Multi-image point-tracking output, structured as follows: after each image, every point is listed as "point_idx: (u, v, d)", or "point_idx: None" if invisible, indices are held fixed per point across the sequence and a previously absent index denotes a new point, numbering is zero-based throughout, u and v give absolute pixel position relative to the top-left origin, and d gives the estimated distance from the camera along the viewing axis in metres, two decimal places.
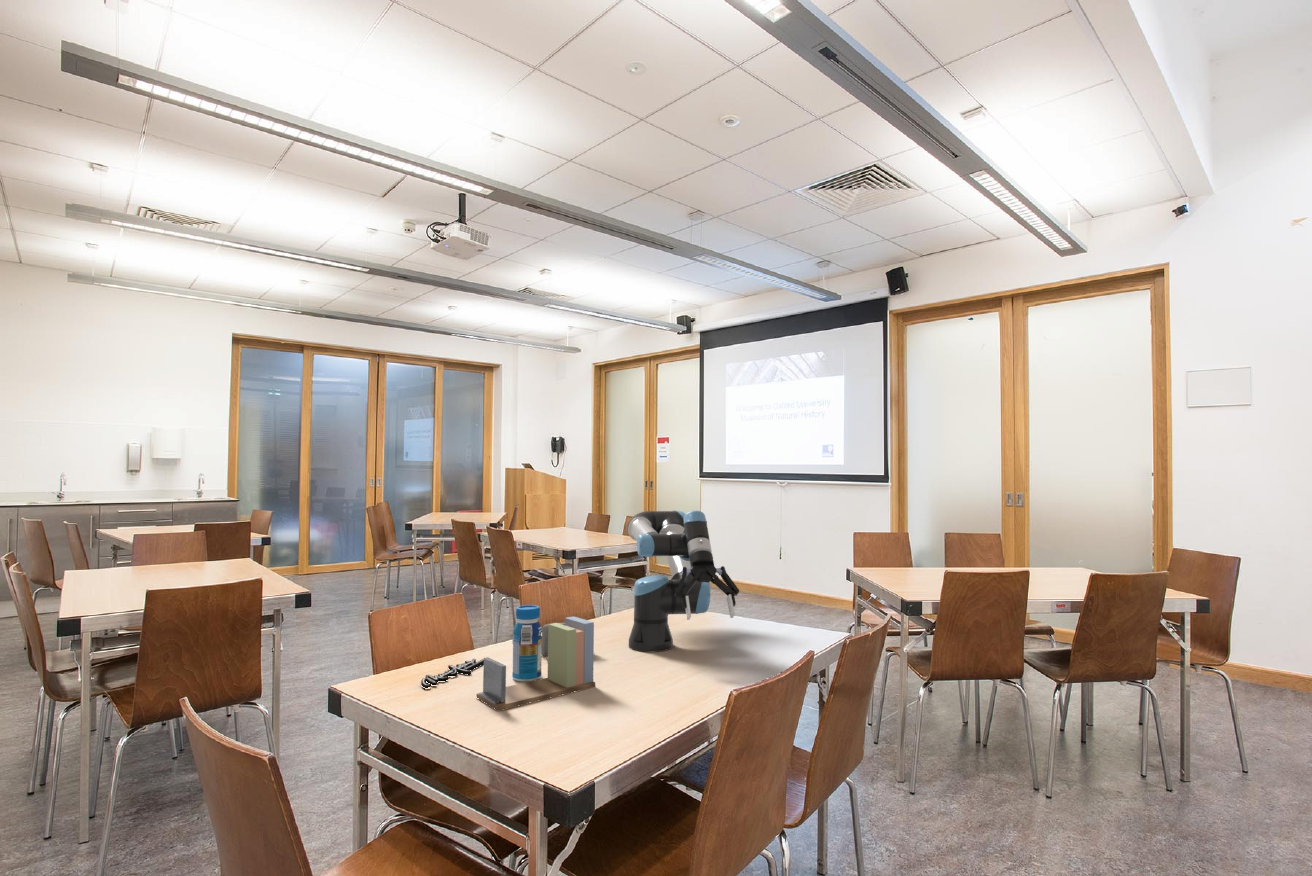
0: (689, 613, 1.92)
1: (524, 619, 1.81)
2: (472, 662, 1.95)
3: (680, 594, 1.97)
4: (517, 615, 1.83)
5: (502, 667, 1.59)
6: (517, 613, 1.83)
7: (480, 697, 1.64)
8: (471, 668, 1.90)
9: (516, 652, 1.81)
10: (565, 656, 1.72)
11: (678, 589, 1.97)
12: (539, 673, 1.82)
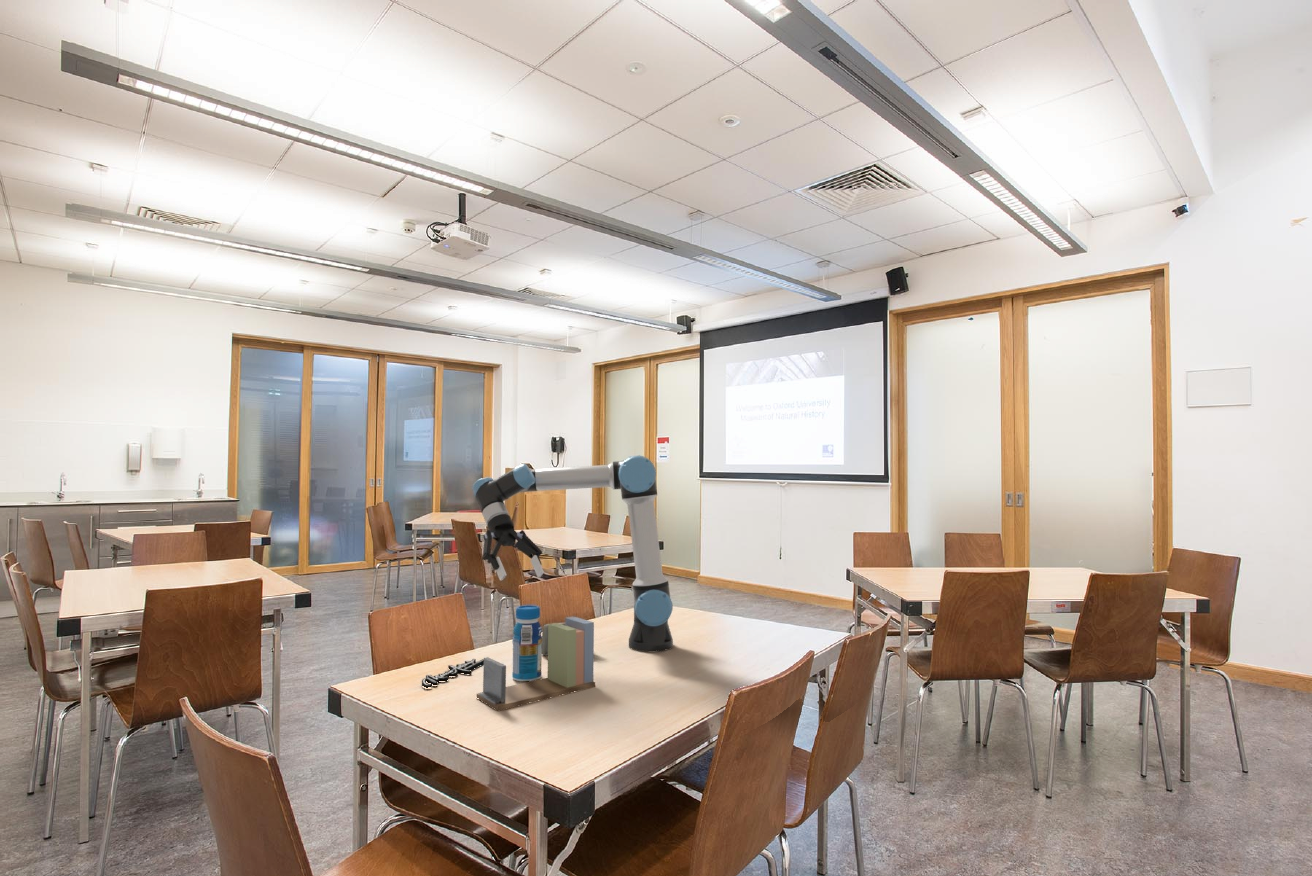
0: None
1: (524, 619, 1.81)
2: (472, 662, 1.95)
3: None
4: (517, 615, 1.83)
5: (502, 667, 1.59)
6: (517, 613, 1.83)
7: (480, 697, 1.64)
8: (471, 668, 1.90)
9: (516, 652, 1.81)
10: (565, 656, 1.72)
11: None
12: (539, 673, 1.82)
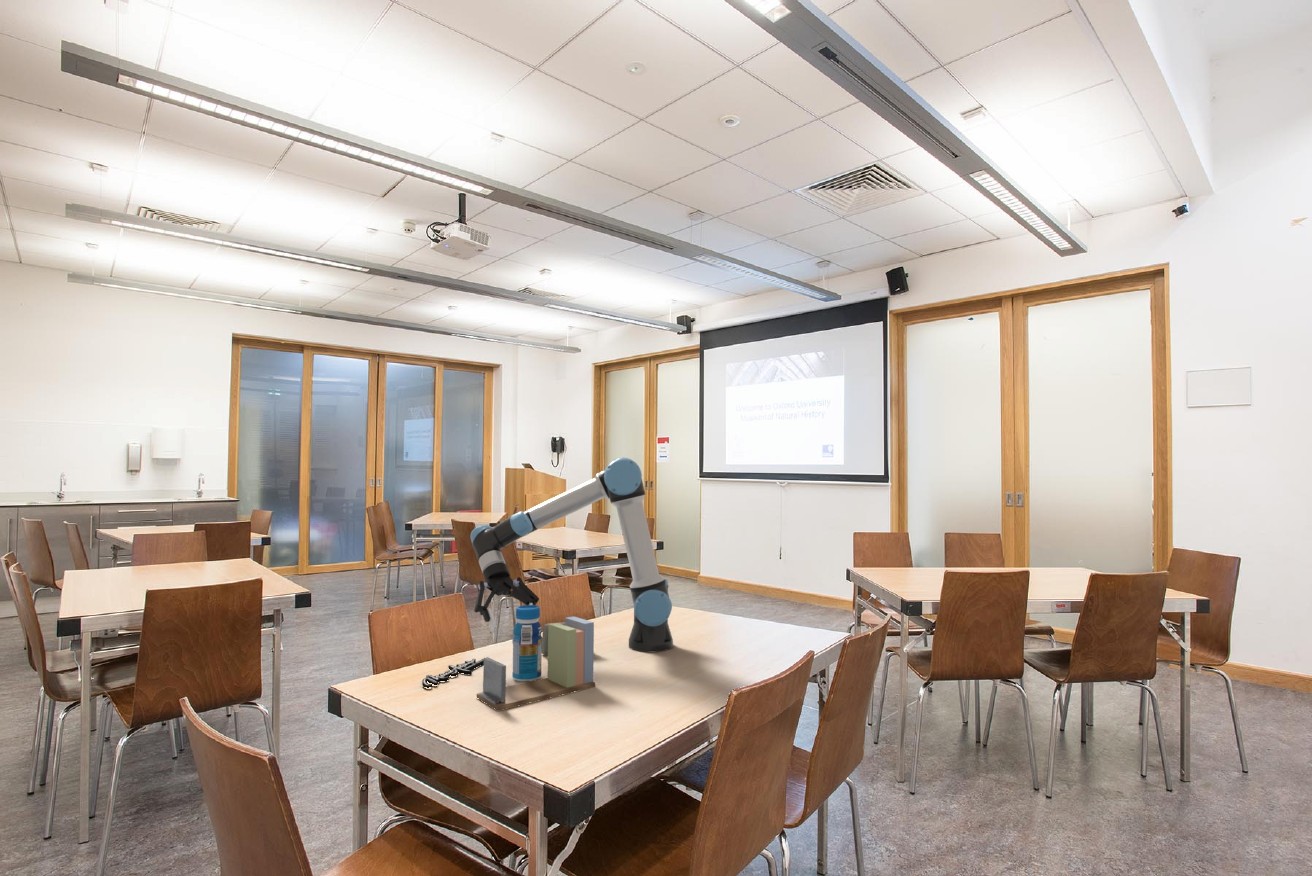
0: None
1: (524, 619, 1.81)
2: (472, 662, 1.95)
3: None
4: (517, 615, 1.83)
5: (502, 667, 1.59)
6: (517, 613, 1.83)
7: (480, 697, 1.64)
8: (471, 668, 1.90)
9: (516, 652, 1.81)
10: (565, 656, 1.72)
11: None
12: (539, 673, 1.82)
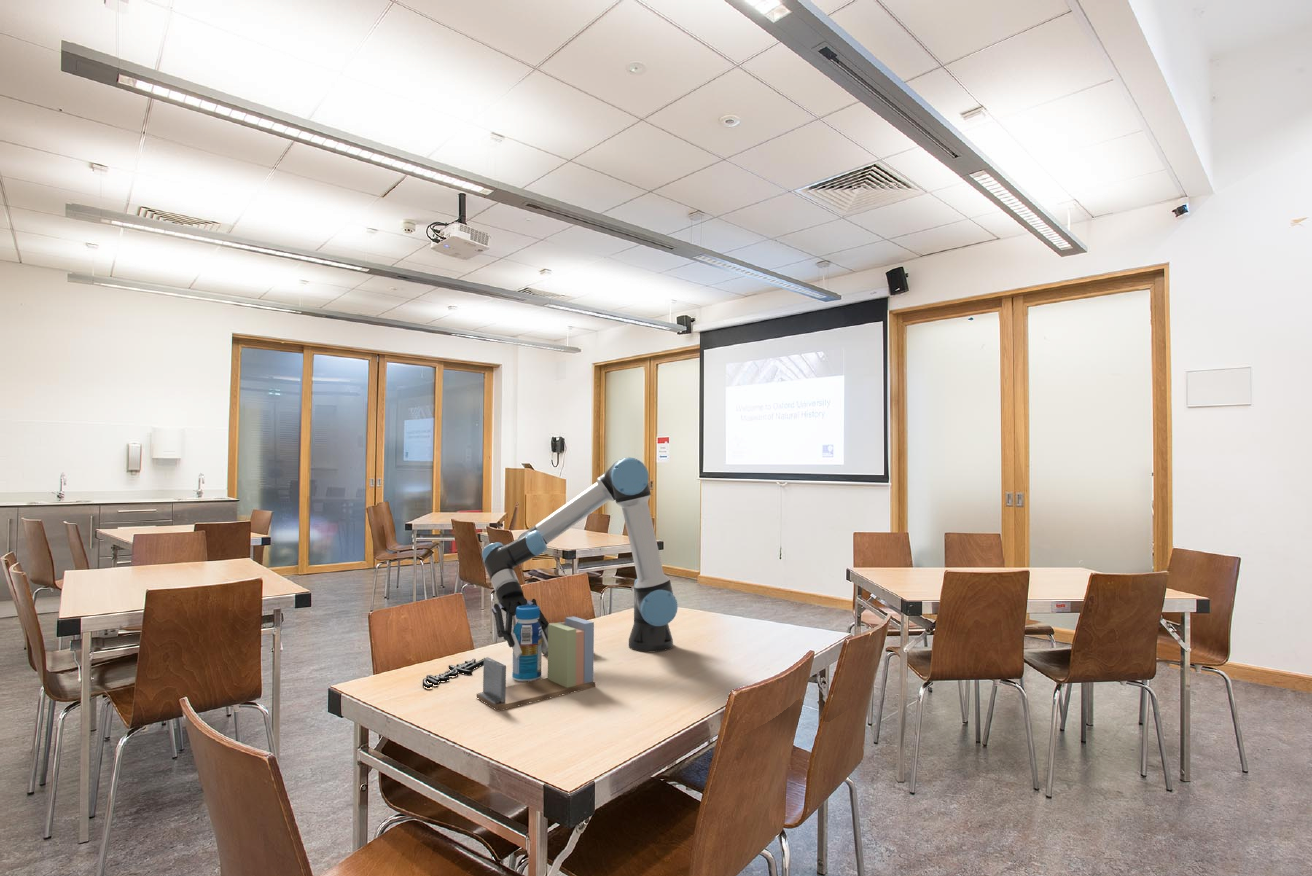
0: None
1: (524, 619, 1.81)
2: (472, 662, 1.95)
3: None
4: (517, 615, 1.83)
5: (502, 667, 1.59)
6: (517, 613, 1.83)
7: (480, 697, 1.64)
8: (471, 668, 1.90)
9: None
10: (565, 656, 1.72)
11: None
12: (539, 673, 1.82)
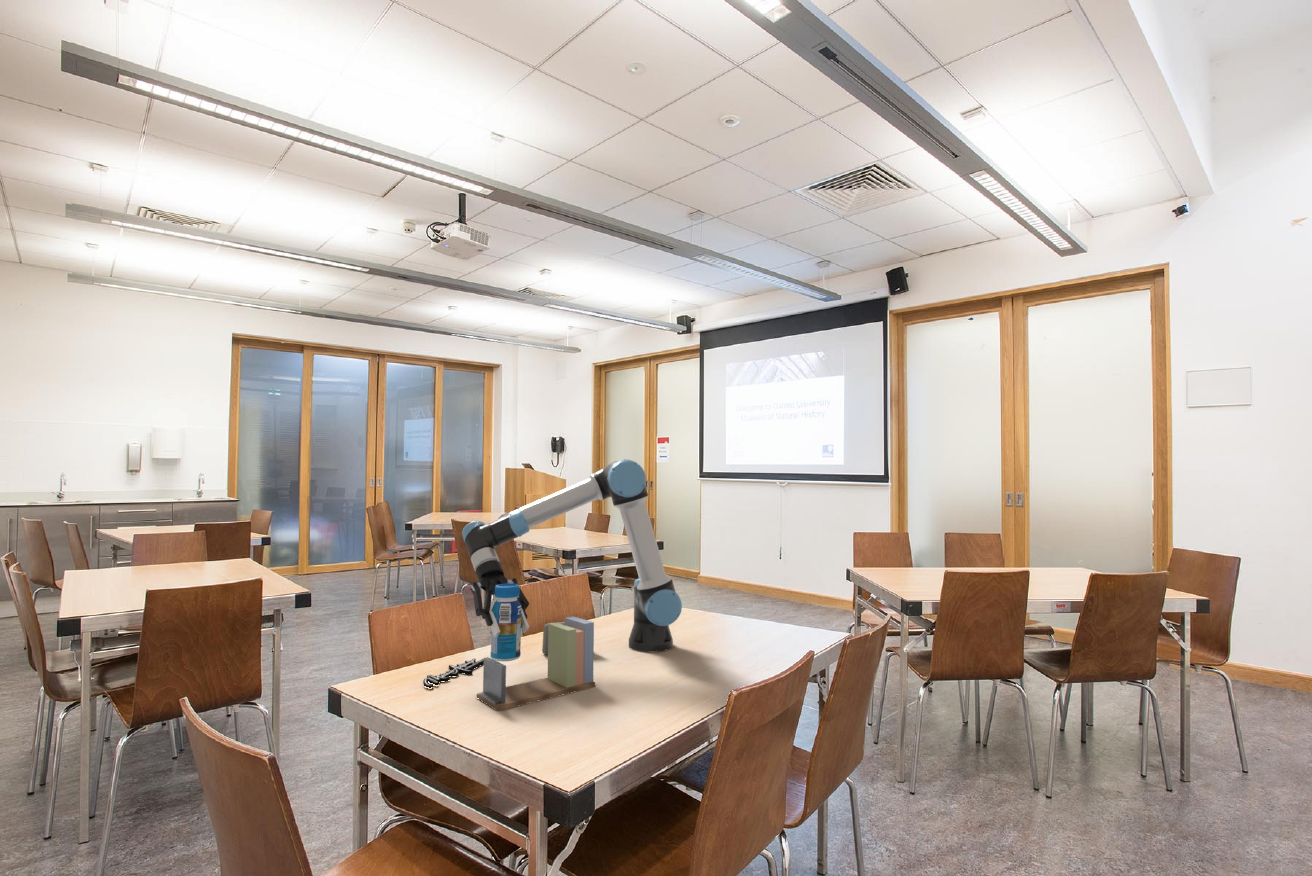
0: None
1: (503, 597, 1.76)
2: (472, 662, 1.95)
3: None
4: (496, 593, 1.78)
5: (502, 667, 1.59)
6: (496, 591, 1.78)
7: (480, 697, 1.64)
8: (472, 668, 1.91)
9: None
10: (565, 656, 1.72)
11: None
12: (518, 653, 1.77)
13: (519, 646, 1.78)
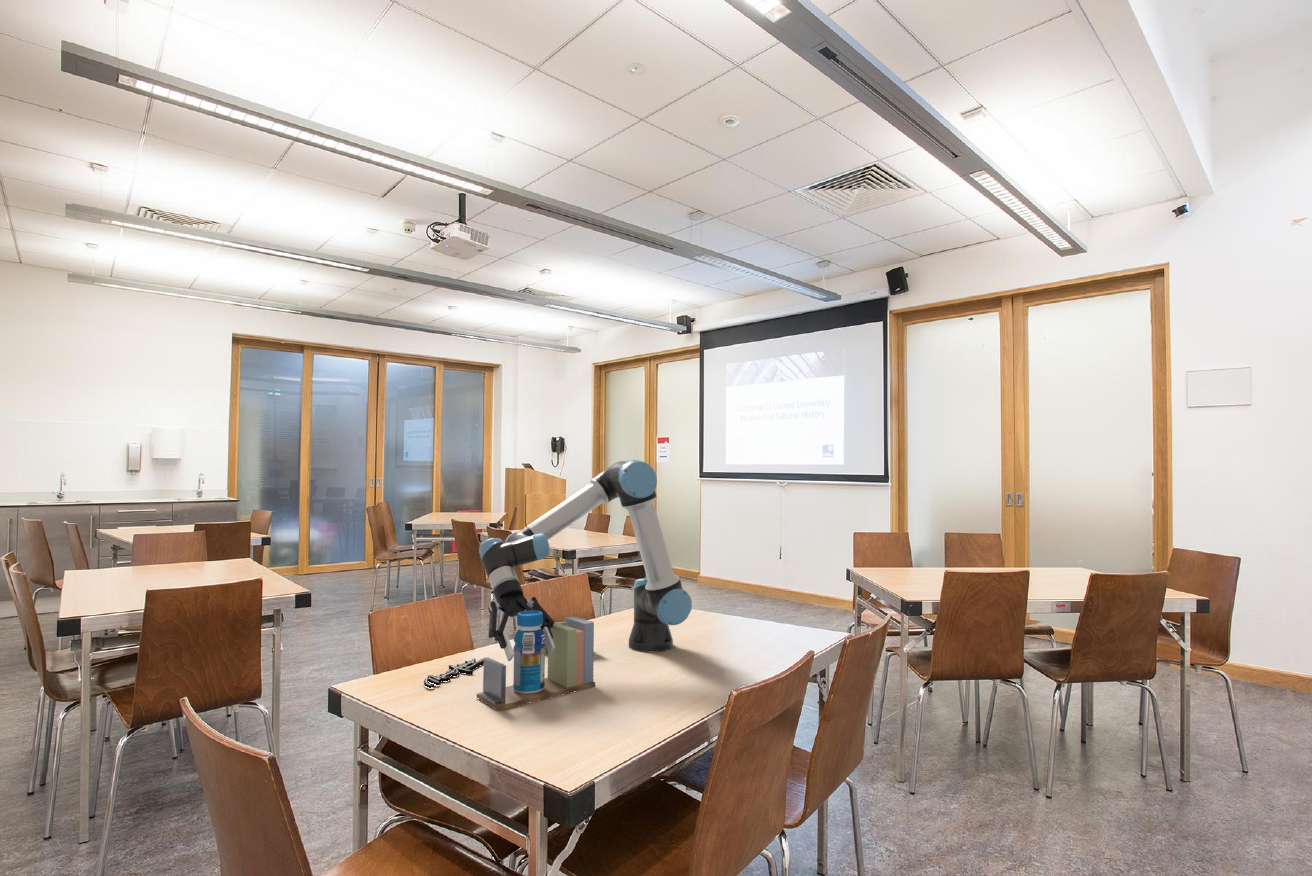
0: None
1: (526, 626, 1.67)
2: (472, 662, 1.95)
3: None
4: (518, 622, 1.69)
5: (502, 667, 1.59)
6: (518, 619, 1.69)
7: (480, 697, 1.64)
8: (472, 668, 1.91)
9: (517, 661, 1.67)
10: (565, 656, 1.72)
11: None
12: (542, 684, 1.68)
13: (543, 677, 1.69)
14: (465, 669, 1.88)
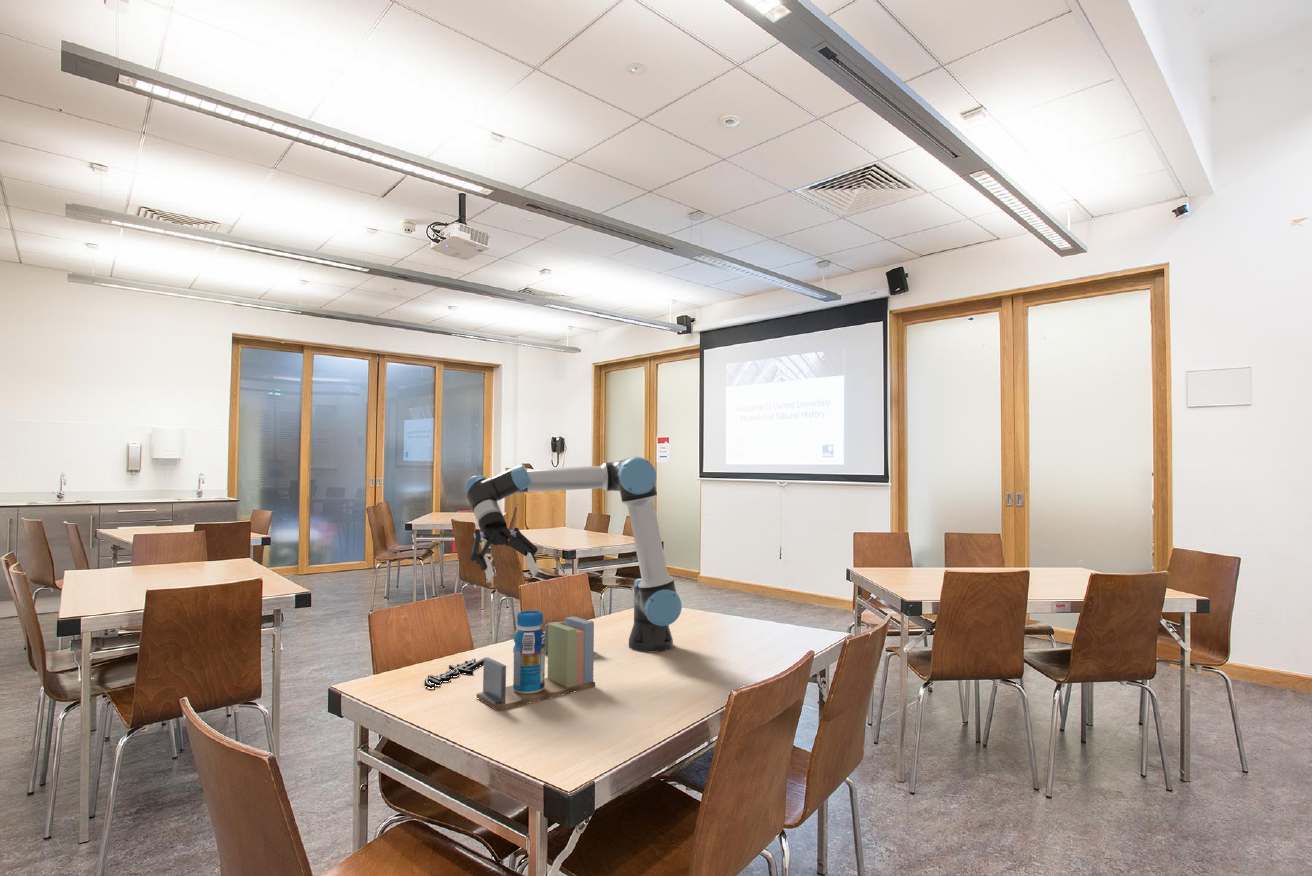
0: None
1: (526, 626, 1.67)
2: (472, 662, 1.95)
3: None
4: (518, 622, 1.69)
5: (502, 667, 1.59)
6: (518, 619, 1.69)
7: (480, 697, 1.64)
8: (472, 668, 1.91)
9: (517, 661, 1.67)
10: (565, 656, 1.72)
11: None
12: (542, 684, 1.68)
13: (543, 677, 1.69)
14: (465, 669, 1.88)
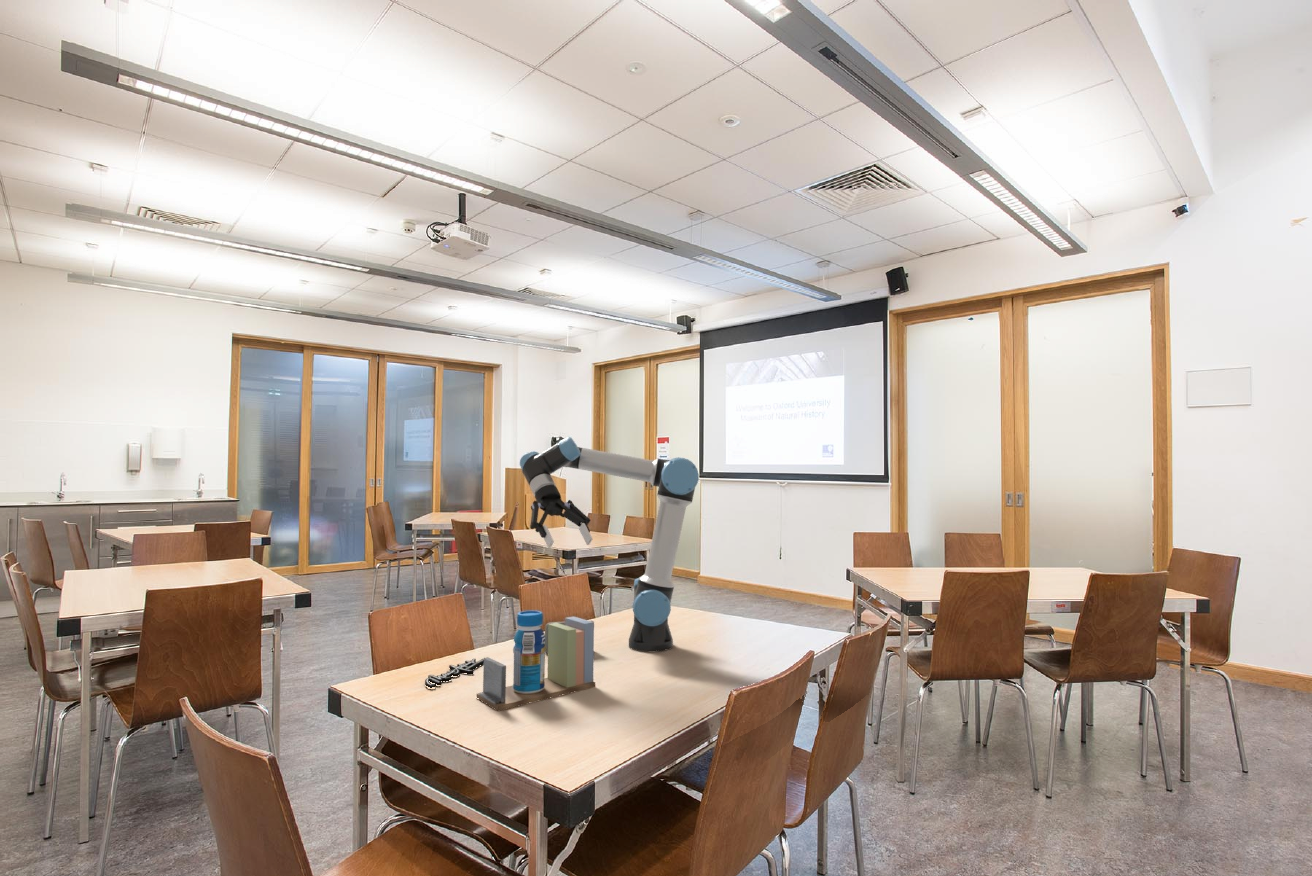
0: None
1: (526, 626, 1.67)
2: (473, 662, 1.95)
3: None
4: (518, 622, 1.69)
5: (502, 667, 1.59)
6: (518, 619, 1.69)
7: (480, 697, 1.64)
8: (472, 668, 1.91)
9: (517, 661, 1.67)
10: (565, 656, 1.72)
11: None
12: (542, 684, 1.68)
13: (543, 677, 1.69)
14: (466, 669, 1.88)
